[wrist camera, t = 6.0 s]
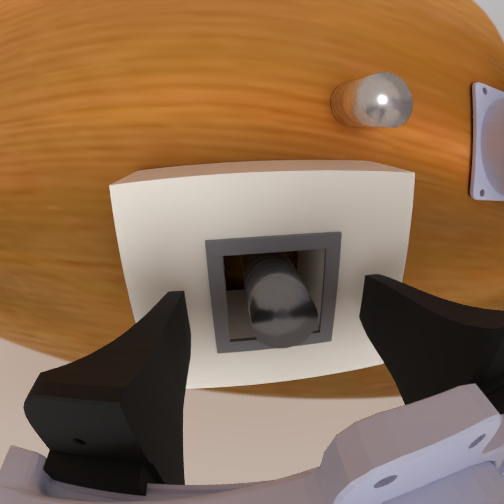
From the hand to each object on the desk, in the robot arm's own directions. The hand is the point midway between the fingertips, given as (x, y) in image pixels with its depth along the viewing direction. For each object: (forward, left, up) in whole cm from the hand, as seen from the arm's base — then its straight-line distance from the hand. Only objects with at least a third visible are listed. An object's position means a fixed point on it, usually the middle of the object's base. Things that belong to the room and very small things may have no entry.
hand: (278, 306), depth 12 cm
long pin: (0, 0, -5) cm, 5 cm away
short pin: (-5, -8, -5) cm, 11 cm away
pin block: (0, 0, -5) cm, 5 cm away
